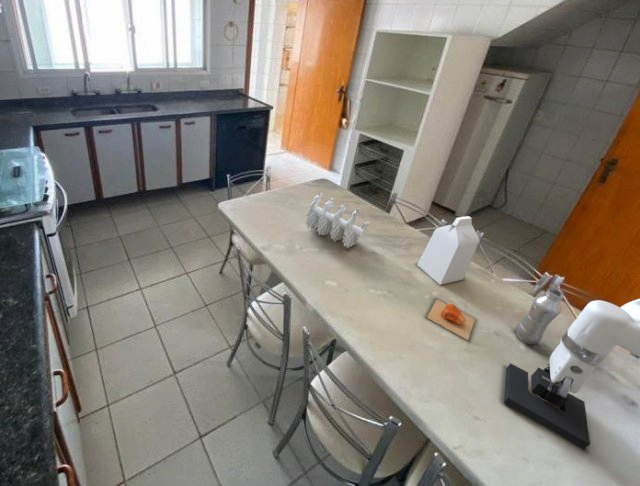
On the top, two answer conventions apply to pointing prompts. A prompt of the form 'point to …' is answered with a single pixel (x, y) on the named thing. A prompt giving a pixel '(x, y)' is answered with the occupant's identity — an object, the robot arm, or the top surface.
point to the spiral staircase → (334, 222)
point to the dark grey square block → (544, 384)
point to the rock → (451, 318)
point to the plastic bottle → (540, 316)
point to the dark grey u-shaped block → (547, 409)
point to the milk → (450, 251)
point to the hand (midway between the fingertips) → (546, 390)
